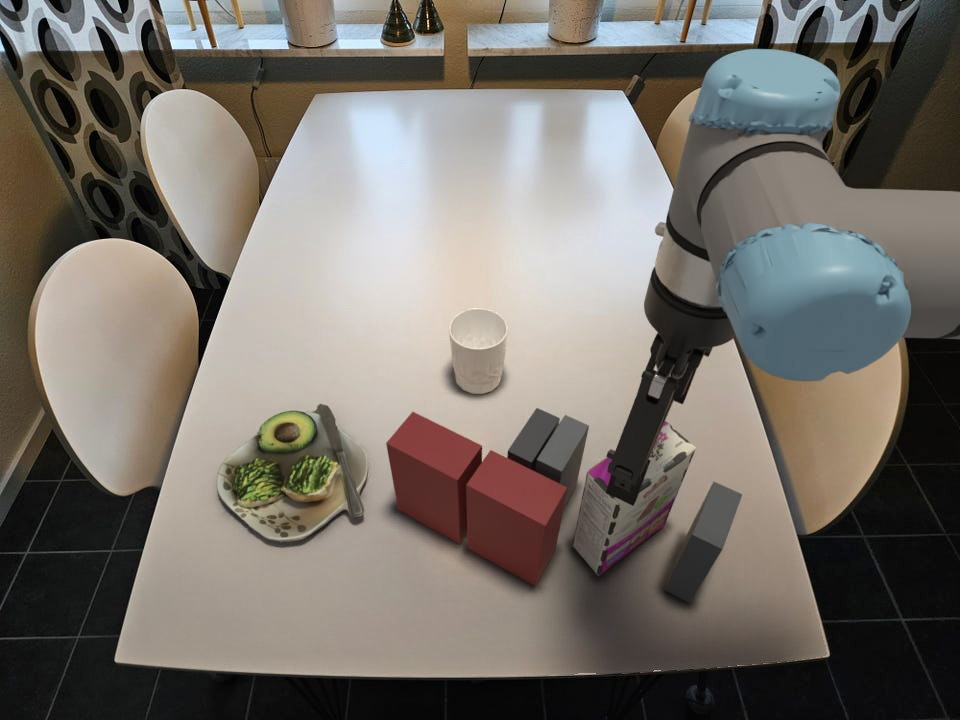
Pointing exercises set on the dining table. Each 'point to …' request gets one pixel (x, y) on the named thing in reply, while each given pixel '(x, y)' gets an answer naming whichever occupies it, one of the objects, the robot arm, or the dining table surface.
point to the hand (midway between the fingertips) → (647, 443)
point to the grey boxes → (560, 460)
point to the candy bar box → (619, 525)
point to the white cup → (478, 349)
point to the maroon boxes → (476, 496)
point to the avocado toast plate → (294, 475)
